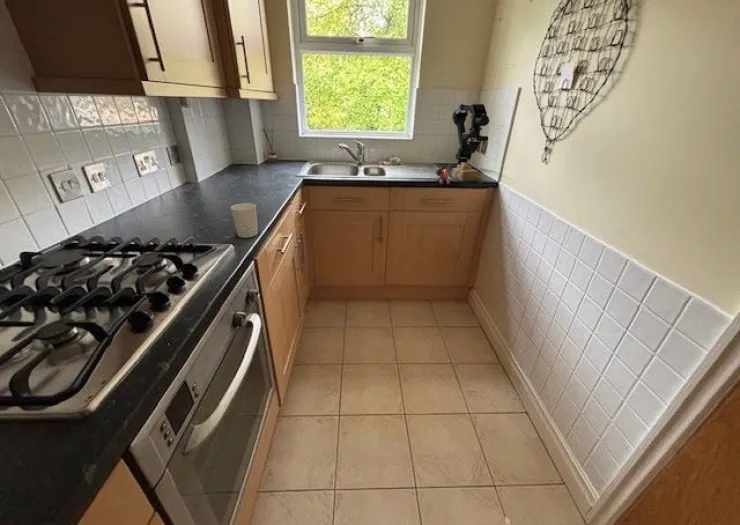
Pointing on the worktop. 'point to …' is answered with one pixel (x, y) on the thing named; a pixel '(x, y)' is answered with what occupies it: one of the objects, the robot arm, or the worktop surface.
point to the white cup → (245, 219)
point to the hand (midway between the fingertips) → (473, 153)
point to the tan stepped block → (464, 173)
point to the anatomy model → (443, 174)
